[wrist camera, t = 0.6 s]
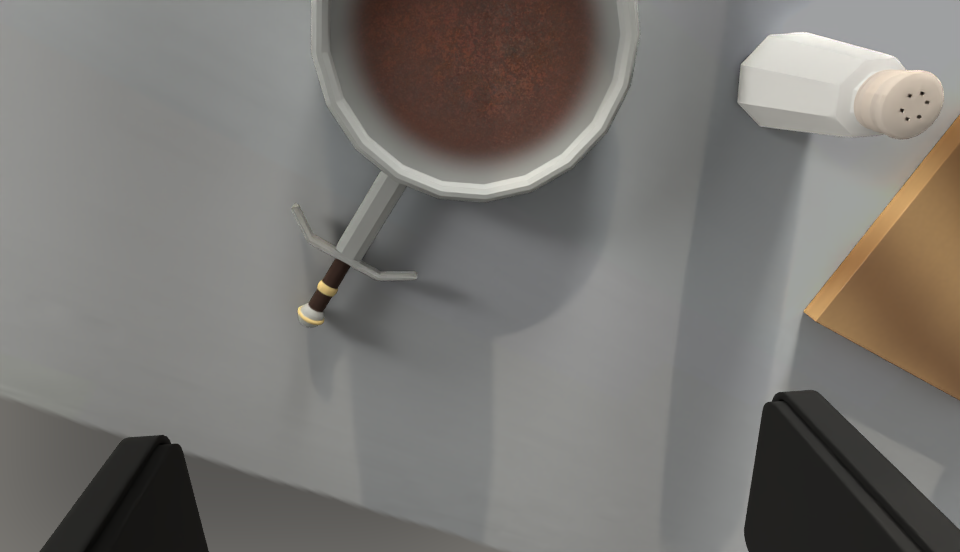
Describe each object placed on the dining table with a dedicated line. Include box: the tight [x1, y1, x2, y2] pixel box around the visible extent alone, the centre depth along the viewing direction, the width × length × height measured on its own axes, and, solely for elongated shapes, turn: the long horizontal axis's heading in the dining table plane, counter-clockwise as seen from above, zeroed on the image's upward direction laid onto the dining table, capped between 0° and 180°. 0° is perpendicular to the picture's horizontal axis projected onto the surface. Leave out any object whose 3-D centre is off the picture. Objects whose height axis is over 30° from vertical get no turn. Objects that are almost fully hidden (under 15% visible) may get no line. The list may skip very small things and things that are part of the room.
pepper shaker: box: [737, 32, 944, 139], centre depth 31 cm, size 5×5×11 cm
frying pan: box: [291, 0, 640, 328], centre depth 35 cm, size 17×3×28 cm
